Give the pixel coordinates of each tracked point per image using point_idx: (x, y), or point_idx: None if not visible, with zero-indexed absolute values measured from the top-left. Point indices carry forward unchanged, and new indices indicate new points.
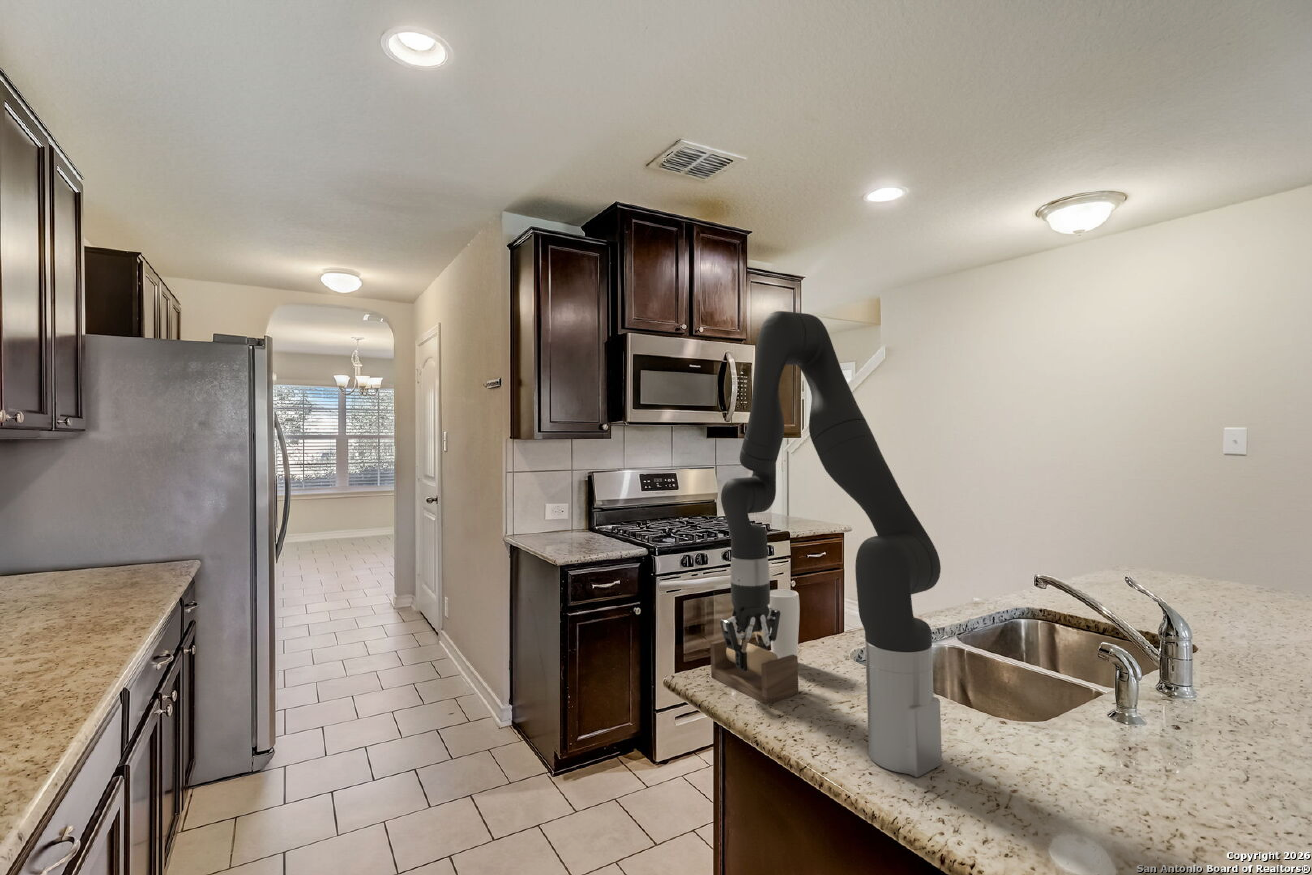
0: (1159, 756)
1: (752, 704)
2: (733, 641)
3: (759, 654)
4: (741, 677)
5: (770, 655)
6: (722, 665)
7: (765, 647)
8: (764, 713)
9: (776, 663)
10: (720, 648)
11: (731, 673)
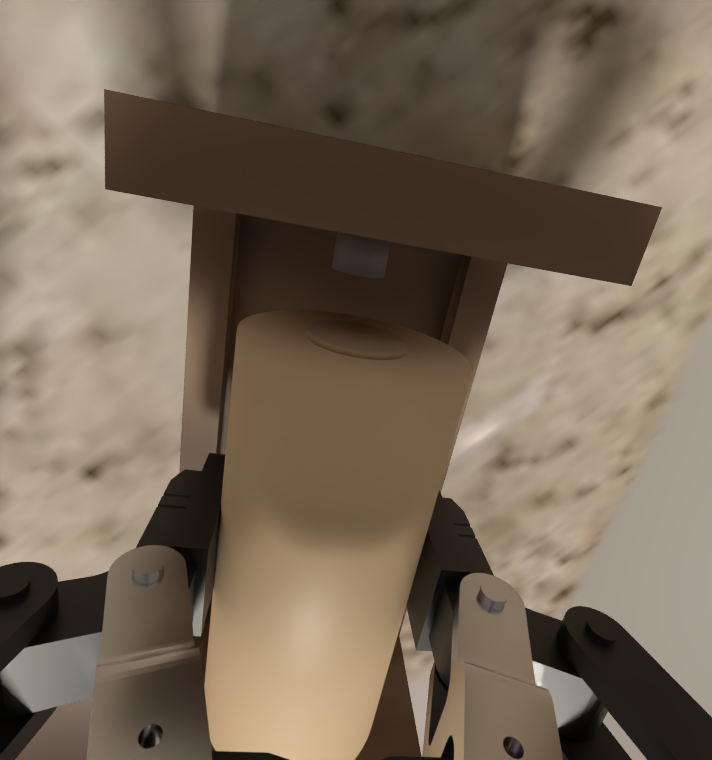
0: None
1: (541, 270)
2: (697, 716)
3: (425, 454)
4: None
5: (347, 370)
6: None
7: (188, 543)
8: (612, 134)
9: (498, 173)
10: (366, 747)
11: None
